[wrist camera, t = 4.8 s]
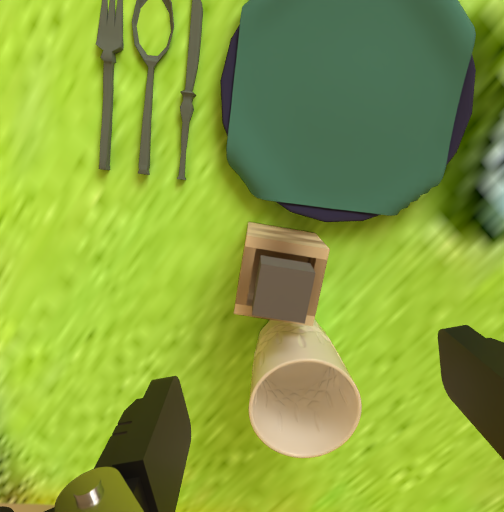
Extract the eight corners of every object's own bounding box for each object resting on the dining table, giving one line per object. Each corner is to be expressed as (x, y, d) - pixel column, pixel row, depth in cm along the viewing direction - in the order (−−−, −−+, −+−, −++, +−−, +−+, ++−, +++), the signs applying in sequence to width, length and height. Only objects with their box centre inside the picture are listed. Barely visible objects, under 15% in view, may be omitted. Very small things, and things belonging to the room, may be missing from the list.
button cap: (310, 263, 27) (315, 272, 25) (300, 310, 28) (304, 323, 26) (260, 255, 27) (261, 263, 25) (252, 302, 28) (252, 315, 26)
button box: (315, 233, 34) (329, 249, 27) (301, 296, 35) (312, 326, 29) (248, 221, 34) (246, 235, 27) (237, 285, 35) (233, 313, 29)
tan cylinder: (286, 289, 35) (298, 337, 26) (350, 339, 36) (385, 403, 27) (233, 350, 37) (226, 417, 27) (296, 396, 38) (310, 477, 28)
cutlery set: (432, 233, 34) (445, 237, 32) (98, 190, 34) (86, 192, 32) (490, -18, 30) (509, -34, 27) (107, -68, 30) (94, -87, 27)
